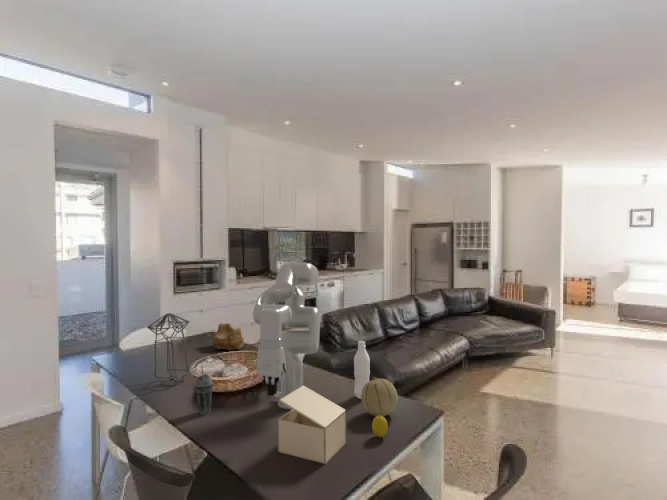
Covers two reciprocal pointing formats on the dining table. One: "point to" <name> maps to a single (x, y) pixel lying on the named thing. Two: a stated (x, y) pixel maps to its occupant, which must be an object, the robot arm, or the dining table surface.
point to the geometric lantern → (170, 343)
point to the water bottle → (361, 369)
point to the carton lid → (313, 406)
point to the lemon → (379, 426)
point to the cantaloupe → (379, 397)
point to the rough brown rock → (228, 337)
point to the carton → (310, 437)
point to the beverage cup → (204, 393)
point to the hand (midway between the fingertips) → (272, 394)
